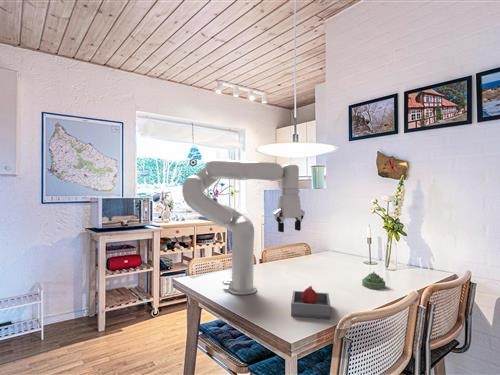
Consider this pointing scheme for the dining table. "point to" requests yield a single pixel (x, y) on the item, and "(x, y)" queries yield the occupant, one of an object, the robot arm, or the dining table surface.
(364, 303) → the dining table surface
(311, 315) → the tray
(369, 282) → the decorative artifact
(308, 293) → the onion
